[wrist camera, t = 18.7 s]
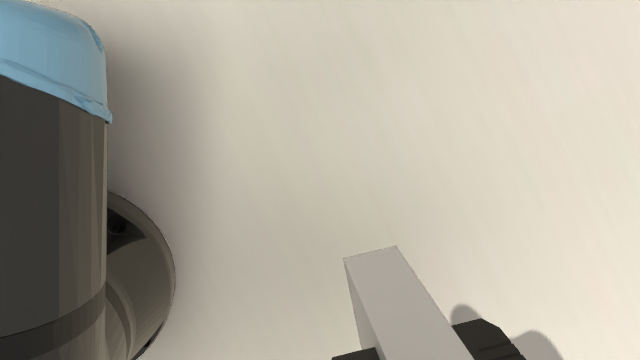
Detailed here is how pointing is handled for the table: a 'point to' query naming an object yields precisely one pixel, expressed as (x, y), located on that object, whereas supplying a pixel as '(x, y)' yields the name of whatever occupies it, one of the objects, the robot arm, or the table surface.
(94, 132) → the robot arm
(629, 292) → the table surface
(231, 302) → the table surface
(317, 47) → the table surface
